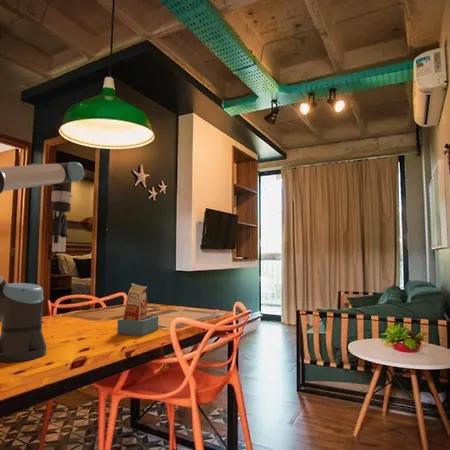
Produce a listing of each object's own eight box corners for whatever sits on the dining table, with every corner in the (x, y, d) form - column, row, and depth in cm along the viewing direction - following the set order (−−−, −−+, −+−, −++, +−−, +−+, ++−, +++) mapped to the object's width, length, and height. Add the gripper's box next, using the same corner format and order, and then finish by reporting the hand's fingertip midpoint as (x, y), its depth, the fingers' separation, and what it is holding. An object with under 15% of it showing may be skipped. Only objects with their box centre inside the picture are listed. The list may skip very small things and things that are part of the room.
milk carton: (121, 331, 149) (122, 283, 151) (131, 327, 158) (132, 282, 160) (141, 332, 148) (142, 284, 149) (150, 328, 157) (151, 282, 158)
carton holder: (158, 329, 158) (158, 316, 158) (143, 336, 145) (143, 321, 146) (134, 328, 161) (134, 314, 162) (117, 334, 148) (117, 319, 149)
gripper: (65, 197, 140) (63, 251, 138) (74, 206, 164) (72, 252, 162) (45, 196, 138) (42, 251, 136) (57, 205, 162) (55, 252, 160)
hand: (58, 251), depth 149 cm, fingers open, 13 cm apart
